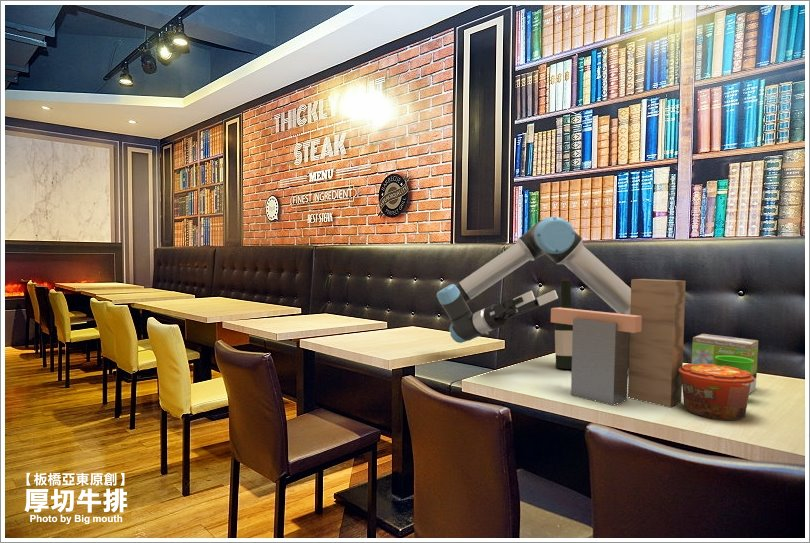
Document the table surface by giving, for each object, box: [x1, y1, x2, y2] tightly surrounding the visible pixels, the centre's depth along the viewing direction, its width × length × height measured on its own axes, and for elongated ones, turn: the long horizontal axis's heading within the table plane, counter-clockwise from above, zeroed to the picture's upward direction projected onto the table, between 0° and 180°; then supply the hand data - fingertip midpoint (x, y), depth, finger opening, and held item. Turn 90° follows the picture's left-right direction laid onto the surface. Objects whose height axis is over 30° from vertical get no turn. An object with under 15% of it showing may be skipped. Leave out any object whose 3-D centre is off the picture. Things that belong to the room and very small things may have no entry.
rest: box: [570, 318, 629, 406], centre depth 137 cm, size 8×12×21 cm, turn 41°
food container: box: [678, 363, 754, 421], centre depth 126 cm, size 16×16×11 cm
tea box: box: [690, 333, 759, 394], centre depth 151 cm, size 15×10×15 cm, turn 45°
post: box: [627, 278, 687, 408], centre depth 136 cm, size 7×11×32 cm, turn 41°
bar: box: [550, 307, 642, 333], centre depth 139 cm, size 4×24×4 cm, turn 41°
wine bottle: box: [554, 278, 574, 370], centre depth 174 cm, size 8×8×30 cm
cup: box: [715, 355, 754, 373], centre depth 139 cm, size 9×9×11 cm
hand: (545, 294), depth 152 cm, fingers open, 13 cm apart
